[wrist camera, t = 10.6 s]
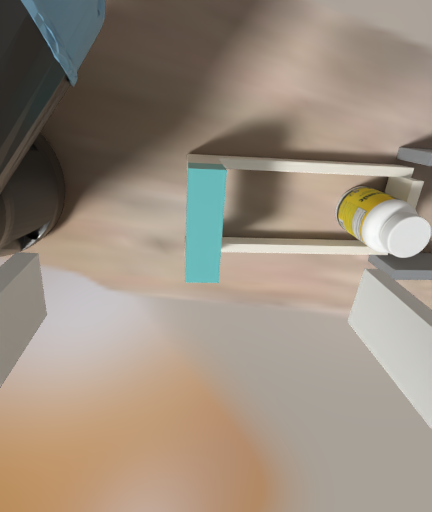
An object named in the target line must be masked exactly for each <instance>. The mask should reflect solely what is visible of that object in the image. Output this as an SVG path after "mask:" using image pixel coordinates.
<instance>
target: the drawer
mask: <svg viewBox="0 0 432 512" xmlns="http://www.w3.org/2000/svg"><path fill="white" fill-rule="evenodd" d="M226 169H240V170H261V171H282V172H303V173H324V174H346V175H367V176H388V177H389V178H388V182H387V186H386V189H385V194H388V195H390V196H393V197H395V198H398V199H401V200H403V201H405V202H407V203H409V204H410V205H412V206H413V207H414V208H416V205H417V202H418V199H419V196H420V193H421V190H422V187H423V184H424V181H421V180H418V179H414V178H411V177H412V174H413V171H414V168H412V167H408V166H404V165H393V164H373V163H354V162H335V161H316V160H296V159H277V158H258V157H238V156H219V155H200V154H187V212H186V236H185V282H200V283H219V270H220V257H221V252H249V253H303V254H356V255H388V253H380V252H377V251H374V250H372V249H371V248H369V247H368V246H367V245H365V244H364V243H363V242H361V241H360V240H322V239H281V238H239V237H222V229H223V215H224V202H225V188H226V174H227V170H226ZM390 254H391V253H390Z"/></svg>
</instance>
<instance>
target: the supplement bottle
mask: <svg viewBox="0 0 432 512" xmlns="http://www.w3.org/2000/svg"><path fill="white" fill-rule="evenodd" d="M335 214H336V219H337V222H338V224H339V225H340V226H341V227H342V228H343V229H345V230H346V231H347V232H349V233H350V234H351V235H353V236H354V237H356V238H357V239H358V240H360V241H361V242H363V243H364V244H365V245H367V246H368V247H369V248H371V249H372V250H374V251H377V252H380V253H391V254H393V255H394V256H396V257H401V258H407V257H411V256H414V255H416V254H417V253H419V252H420V251H421V250H423V249H424V248H425V246H426V245H427V243H428V242H429V240H430V237H431V227H430V224H429V222H428V221H427V220H426V219H424V218H423V217H420V216H418V214H417V211H416V210H415V208H414V207H413V206H412V205H410V204H409V203H407V202H405V201H403V200H401V199H398V198H395V197H393V196H390V195H388V194H385V193H383V192H380V191H378V190H376V189H373V188H370V187H366V186H360V187H355V188H353V189H351V190H349V191H347V192H346V193H345V194H344V195H343V196H342V197H341V198H340V200H339V202H338V204H337V207H336V213H335Z"/></svg>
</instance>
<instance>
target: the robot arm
mask: <svg viewBox="0 0 432 512" xmlns="http://www.w3.org/2000/svg"><path fill="white" fill-rule="evenodd" d="M105 12H106V3H105V0H0V257H1V256H6V255H11V254H14V255H13V256H12V257H11V258H9V259H8V260H7V261H6V262H5V263H4V264H3V265H2V266H1V267H0V387H1V386H2V384H3V383H4V381H5V380H6V378H7V376H8V375H9V373H10V372H11V370H12V369H13V367H14V366H15V364H16V362H17V361H18V359H19V357H20V356H21V355H22V353H23V351H24V350H25V348H26V347H27V345H28V343H29V342H30V340H31V339H32V337H33V336H34V334H35V333H36V331H37V330H38V328H39V326H40V325H41V323H42V322H43V320H44V319H45V317H46V315H47V312H46V305H45V299H44V291H43V284H42V276H41V269H40V262H39V254H38V253H19V252H20V251H23V250H25V249H27V248H29V247H31V246H32V245H34V244H35V243H37V242H38V241H39V240H41V239H42V238H43V237H44V236H45V235H46V234H47V233H48V232H49V231H50V230H51V229H52V228H53V227H54V225H55V224H56V222H57V221H58V219H59V217H60V215H61V212H62V209H63V205H64V200H65V184H64V178H63V173H62V170H61V167H60V164H59V162H58V159H57V157H56V155H55V153H54V152H53V150H52V148H51V147H50V145H49V144H48V142H47V141H46V140H45V138H44V137H43V136H42V135H41V134H40V131H41V130H42V128H43V127H44V125H45V124H46V122H47V121H48V119H49V118H50V116H51V114H52V113H53V111H54V110H55V108H56V107H57V105H58V104H59V102H60V100H61V99H62V97H63V96H64V94H65V93H66V91H67V90H68V88H69V86H70V85H71V86H72V87H74V85H75V84H76V82H77V79H78V76H77V71H78V70H79V68H80V66H81V64H82V62H83V61H84V59H85V57H86V55H87V53H88V52H89V50H90V48H91V46H92V44H93V43H94V41H95V39H96V37H97V35H98V34H99V32H100V30H101V28H102V26H103V23H104V19H105ZM348 323H349V324H350V326H352V328H353V329H354V331H355V332H356V333H357V335H358V336H359V337H360V338H361V340H362V341H363V342H364V343H365V345H366V346H367V347H368V349H369V350H370V351H371V352H372V354H373V355H374V356H375V358H376V359H377V360H378V361H379V363H380V364H381V365H382V366H383V368H384V369H385V370H386V371H387V373H388V374H389V375H390V377H391V378H392V379H393V381H394V382H395V383H396V384H397V386H398V387H399V388H400V389H401V391H402V392H403V393H404V395H405V396H406V397H407V398H408V400H409V401H410V402H411V404H412V405H413V406H414V408H415V409H416V410H417V411H418V413H419V414H420V415H421V416H422V418H423V419H424V420H425V421H426V423H427V424H428V425H429V426H430V428H431V429H432V310H431V309H430V308H428V307H427V306H426V305H425V304H423V303H422V302H421V301H420V300H419V299H417V298H416V297H415V296H414V295H412V294H411V293H410V292H409V291H407V290H406V289H405V288H404V287H402V286H401V285H400V284H399V283H397V282H396V281H395V280H394V279H392V278H391V277H390V276H389V275H388V274H386V273H385V272H384V271H383V270H381V269H364V272H363V275H362V279H361V282H360V285H359V288H358V291H357V294H356V297H355V300H354V303H353V306H352V309H351V313H350V316H349V319H348Z"/></svg>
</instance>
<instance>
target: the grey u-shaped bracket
mask: <svg viewBox="0 0 432 512" xmlns="http://www.w3.org/2000/svg"><path fill="white" fill-rule="evenodd" d="M396 159H400V160H404V161H409V162H413V163H418V164H422V165H426V166H432V149H421V148H404V147H400V148H399V151H398V155H397V158H396ZM368 261H369V262H370V263H372V264H373V265H374V266H375V267H376V268H378V269H381V270H383V271H384V272H385V273H386V274H388V275H389V276H390V277H391V278H392V279H394V280H432V253H417V254H416V255H414V256H411V257H407V258H401V257H396V256H394V255H393V254H390V253H388V255H369V259H368Z"/></svg>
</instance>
